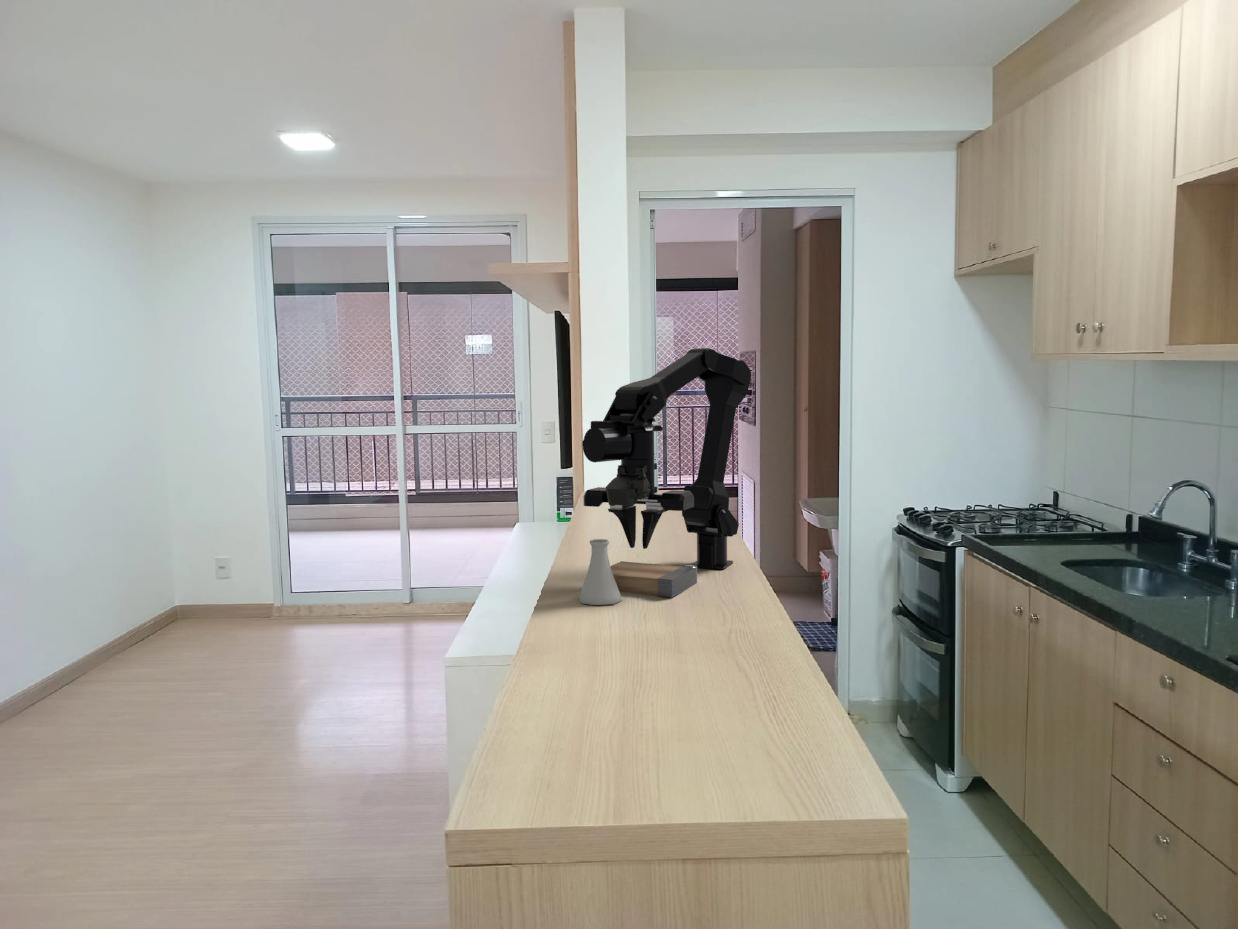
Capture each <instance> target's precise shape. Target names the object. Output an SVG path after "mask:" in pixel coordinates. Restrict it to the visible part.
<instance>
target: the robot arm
mask: <svg viewBox="0 0 1238 929" xmlns="http://www.w3.org/2000/svg"><path fill="white" fill-rule="evenodd" d="M695 379H699V380H701V381H702V382H704V392H705V395H706V398H707V400H708V403H709V409H708V414H707V419H706V426H705V432H704V437H703V443H702V449H701V454H700V461H699V466H698V472H697V478H696V479H695V481H694V482H693V483H692V484H691V485H689V484H688V485H687V484H686V485H685V486H684V487H683V490H680V489H679V490H677V489H675V490H674V489H673V490H668V491H665V492H662V493H661V494H658V486H655V470H657V469H658V463H656V462H655V432H662V431H663V430H664V428H663V426H662V425H661V424H659V423H658V422H657V421H656V419H655V417H656V416H657V415H658V414H659V413H660V412H661V411H662V410H663V409H664V408H666V405H667V401H668V399H669V398H670V397H671V396H672V395H674V394H675V393H677V392H678V391H679V390H681V389H682V388H684V387H685V386H687V385H688V384H689V383H692V381H694V380H695ZM751 379H752V372H751V369H750V368H749V366H748V364H747V363H746V362H745V361H744V360H741V359H740V360H739V359H736V358H734V357H730V356H728V355H725V354H722V353H719V352H717V351H716V350H714V349H712V348H710V347H699V348H692V349H689V350H688V351H687V352H686V353H685V354H684V355H682V356H681V357H680V358H678V359H676V360H675V361H673V362H672V363H670V364H669V365H667V366H666V367H665V368H663V369H661V370H660V371H658V372H657V373H655V374H654V375H652V376H651V377H647V378H645V379H642V380H638V381H633V382H629V383H628V384H624V385H622V386H620V387H619V388H618V389H617V390H616V391H615V393H614V394H615V397H614V399H613V400H612V402H611V405H610V406H609V408H608V410H607V412H606V414H605V416H604V418H603V420H591V421H590V428H589V429H587V431H586V432H585V434H584V435H583V436H584V437H583V440H582V443H581V444H582V451H583V454H584V456H585V458H587V460H588V461H589V462H592V463H603V462H604V463H605V462H614V461H620V464H618V465H617V473H616V477H614V478H613V479H612V480H610V482H608V484H607V485H606V486H605V487H604V486H603V487H600V486H599V487H593V488H590V489H587V490H586V491H585V492H584V495H583V506H584V507H595V508H596V507H597V508H598V507H601V506H602V505H603V503H608V505H609V508H607V511H608V513H613V514H614V515H615V517H617V519H618V520H619V523H620V524H621V527H622V529H623V532H624V535H625V537H626V539H627V543H628V545H629V548H630V549H633V548H635V547H636V540H637V536H636V535H637V505H645V508H646V509H643V510H641V511H640V514H641V517H642V521H643V522H642V536H641V538H642V543H641V544H642V549H644V550H647V549H648V546H649V544H650V541H651V539H652V537H653V534H654V532H655V529H656V527H657V524H658V523H659V520H660V518H662V515H663V513H666V512H668V511H672V512H673V511H675V512H678V511H679V512H680V511H681V516H682V517H683V521H684V524H685V527H686V531H687V533H690V534H691V533H692V534H696V561H694V562H693V563H691V564H690V565H696V566H697V568H700V569H715V570H724V569H726V568H728V567H729V566H731V565H733V564H734V561H733V560H728V537H734V536H735V535H737V534H738V531H739V530H738V529H739V526H740V525H739V522H738V521H737V519H736V518H735V517H734V515H733V514H732V513H731V511H730V509H729V506H730V497H729V494H728V491H727V489H726V486H725V481H724V480H725V477H726V475H725V474H726V471H727V470H726V469H727V463H728V457H729V451H730V446H731V440H732V436H733V435H732V433H733V428H734V422H735V416H736V411H737V408H738V407H739V406H740V405H741V403H742V402H743V400H745V398H746V397H747V394H748V392H749V387H750V385H751Z"/></svg>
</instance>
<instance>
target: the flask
mask: <svg viewBox="0 0 1238 929" xmlns="http://www.w3.org/2000/svg"><path fill="white" fill-rule="evenodd" d="M589 544H590V546H591V555H590V561H589V565H588V569H587V571H586V575H585V579H584V582H583V584H582V588H581V591H580V593H579V596H578V600H579V602H580V604H583V605H592V606H604V605H615V604H618V603H620V602H621V601H623V598H622V595H621V592H619V589H618V587H617V584H616V581H615V579H614V576H613V573H612V570H611V567H610V566H611V564H610V560H609V554H608V553H609V552H608V546H609V544H610V541H609V539H604V538H600V539H599V538H597V539H590V540H589Z"/></svg>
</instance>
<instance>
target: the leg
mask: <svg viewBox="0 0 1238 929" xmlns="http://www.w3.org/2000/svg"><path fill="white" fill-rule="evenodd" d="M681 566H682V567H680V568H678V569H676V570H674V571H672V572H670V573H668V574H666V575H664V576H662V577H660V578H658V596H657V597H661V598H662V597H663V598H672V599H673V598H674V597H676V596H678V595H679V594H682V593H683V592H685V591H686V590H688V589H690V588H692V587H693V586H695V585H697V583H698V567H697V566H696V565H691V564H685V565H681Z"/></svg>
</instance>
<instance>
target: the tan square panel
mask: <svg viewBox="0 0 1238 929" xmlns="http://www.w3.org/2000/svg"><path fill="white" fill-rule="evenodd" d="M682 566H683V565H671V564H660V563H659V564H658V563H647V562H646V563H645V562H634V561H619V562H617V563H615V564H612V565H610V567H611V570H612V573H613V576H614V579H615V581H616V584H617V587H618V589H619V592H620V593H629V594H635V595H636V594H637V595H644V596H654V597H659V596H658V578H660V577H662V576H664V575H666V574H668V573H670V572H672V571H674V570H676V569H678V568H680V567H682Z"/></svg>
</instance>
